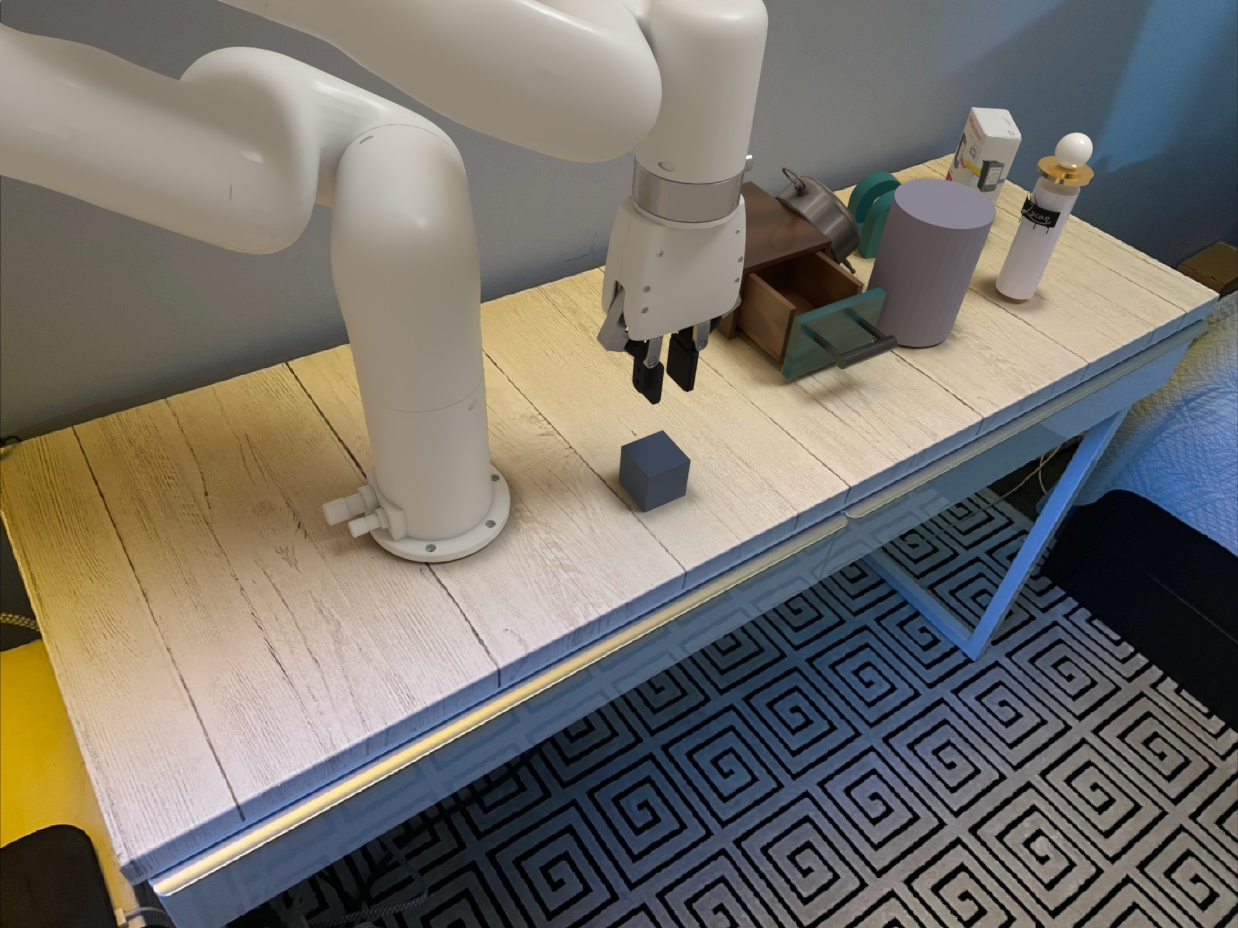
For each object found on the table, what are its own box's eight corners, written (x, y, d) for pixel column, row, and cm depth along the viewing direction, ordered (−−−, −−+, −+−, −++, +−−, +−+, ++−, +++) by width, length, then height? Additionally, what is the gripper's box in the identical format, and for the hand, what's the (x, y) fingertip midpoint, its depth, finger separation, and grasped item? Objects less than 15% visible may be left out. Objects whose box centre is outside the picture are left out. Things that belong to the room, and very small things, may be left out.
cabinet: (815, 309, 106) (832, 239, 99) (728, 340, 101) (740, 269, 94) (739, 248, 114) (750, 180, 108) (655, 273, 109) (662, 204, 103)
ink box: (941, 187, 128) (968, 104, 120) (977, 190, 128) (1006, 107, 120) (954, 219, 122) (983, 134, 114) (992, 222, 122) (1024, 137, 114)
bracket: (865, 258, 114) (881, 201, 109) (841, 230, 119) (855, 173, 113) (989, 243, 118) (1011, 187, 113) (962, 216, 123) (981, 161, 117)
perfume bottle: (1004, 274, 113) (1069, 117, 99) (1046, 296, 110) (1119, 137, 96) (978, 290, 110) (1041, 130, 96) (1020, 313, 107) (1092, 152, 93)
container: (841, 315, 105) (874, 196, 95) (896, 285, 110) (933, 169, 100) (914, 360, 100) (957, 239, 89) (968, 327, 105) (1015, 209, 94)
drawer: (901, 374, 97) (921, 317, 91) (819, 408, 92) (835, 350, 87) (790, 285, 107) (802, 230, 102) (711, 312, 103) (720, 255, 98)
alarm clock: (794, 244, 116) (742, 166, 103) (825, 212, 115) (777, 130, 102) (850, 287, 109) (802, 210, 97) (883, 254, 109) (839, 172, 96)
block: (644, 512, 82) (648, 477, 79) (618, 480, 85) (621, 445, 81) (685, 494, 84) (691, 460, 81) (658, 464, 86) (662, 429, 83)
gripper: (747, 137, 68) (715, 336, 81) (557, 183, 62) (555, 392, 75) (812, 181, 64) (767, 384, 77) (615, 237, 57) (602, 448, 70)
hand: (663, 386), depth 76 cm, fingers closed
